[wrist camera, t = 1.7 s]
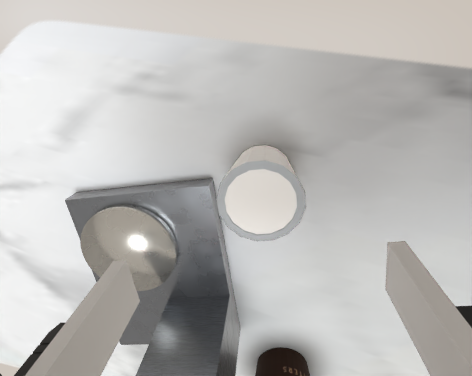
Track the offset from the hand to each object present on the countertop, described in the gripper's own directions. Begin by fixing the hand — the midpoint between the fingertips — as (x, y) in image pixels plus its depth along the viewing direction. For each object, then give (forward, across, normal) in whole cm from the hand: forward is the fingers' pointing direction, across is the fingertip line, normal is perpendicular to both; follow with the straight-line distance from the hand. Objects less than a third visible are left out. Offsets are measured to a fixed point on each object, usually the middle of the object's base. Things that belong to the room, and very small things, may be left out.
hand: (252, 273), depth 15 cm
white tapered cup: (+16, 0, 0) cm, 16 cm away
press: (+15, +12, +10) cm, 22 cm away
